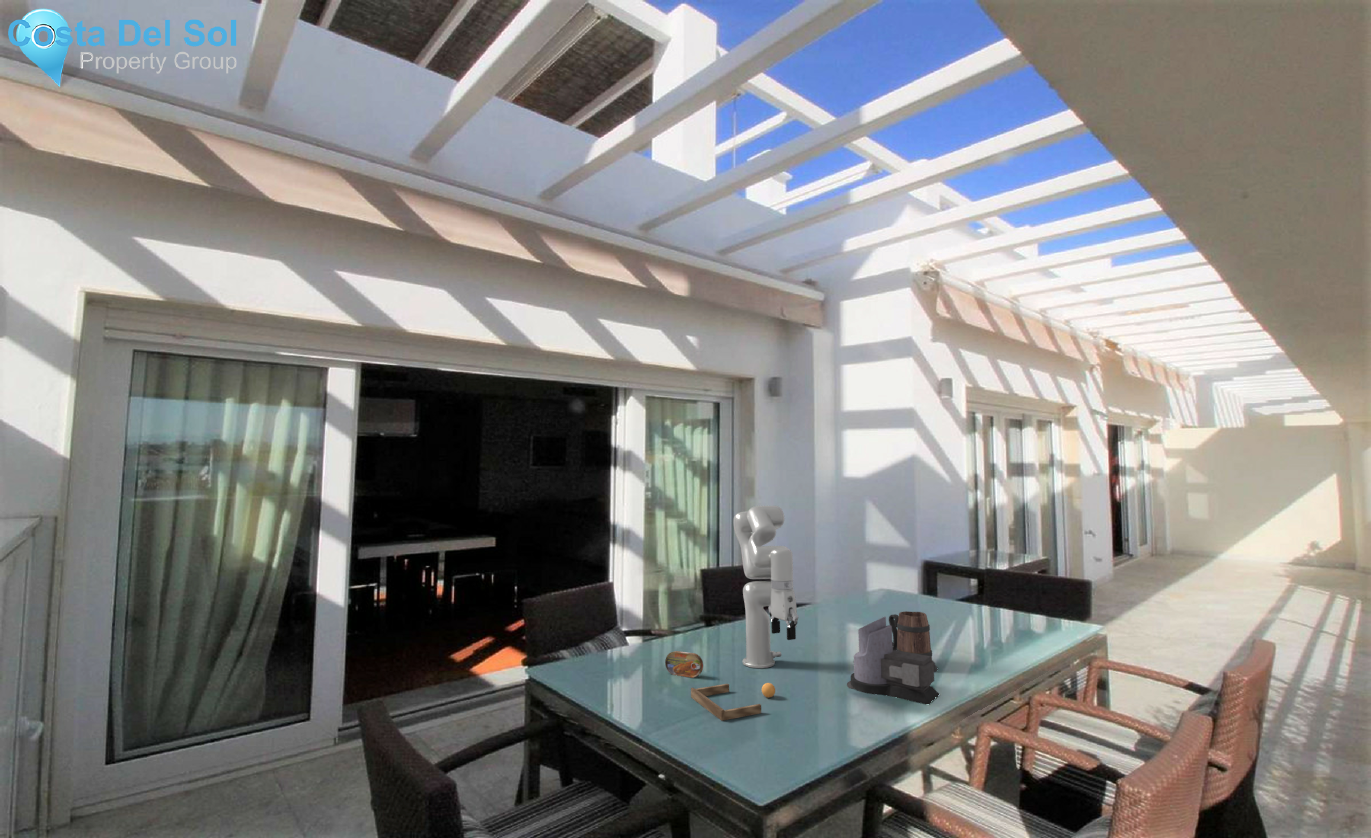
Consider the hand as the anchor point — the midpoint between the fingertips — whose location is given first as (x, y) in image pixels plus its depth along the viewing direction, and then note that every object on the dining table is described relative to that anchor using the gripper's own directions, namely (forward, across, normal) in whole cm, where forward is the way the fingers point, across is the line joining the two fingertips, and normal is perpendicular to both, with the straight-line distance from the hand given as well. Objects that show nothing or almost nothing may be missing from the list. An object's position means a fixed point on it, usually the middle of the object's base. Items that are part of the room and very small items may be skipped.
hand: (783, 636), depth 212 cm
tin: (+19, +32, +23) cm, 44 cm away
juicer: (+19, -12, -35) cm, 42 cm away
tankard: (+19, +8, -61) cm, 64 cm away
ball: (+17, -1, +7) cm, 18 cm away
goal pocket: (+19, -1, +23) cm, 30 cm away
